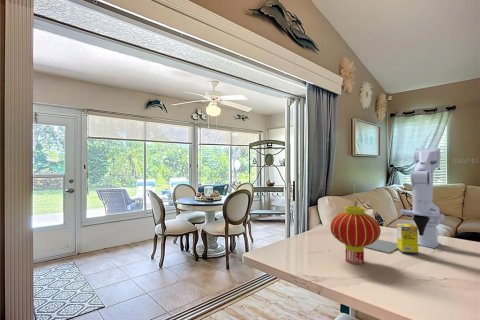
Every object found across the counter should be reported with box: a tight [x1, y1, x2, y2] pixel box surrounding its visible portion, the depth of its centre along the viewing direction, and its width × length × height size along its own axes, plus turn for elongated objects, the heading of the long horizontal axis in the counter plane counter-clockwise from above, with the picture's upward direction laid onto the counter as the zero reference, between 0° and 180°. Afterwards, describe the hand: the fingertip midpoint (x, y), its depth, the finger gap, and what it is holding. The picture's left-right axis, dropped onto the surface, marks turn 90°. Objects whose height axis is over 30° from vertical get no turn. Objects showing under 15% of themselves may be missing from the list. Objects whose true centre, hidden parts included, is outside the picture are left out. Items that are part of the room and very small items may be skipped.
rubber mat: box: [364, 238, 398, 255], centre depth 118 cm, size 16×15×1 cm
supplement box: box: [396, 223, 419, 255], centre depth 109 cm, size 6×6×11 cm
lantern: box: [329, 185, 381, 266], centre depth 99 cm, size 17×17×30 cm
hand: (421, 235), depth 106 cm, fingers closed
